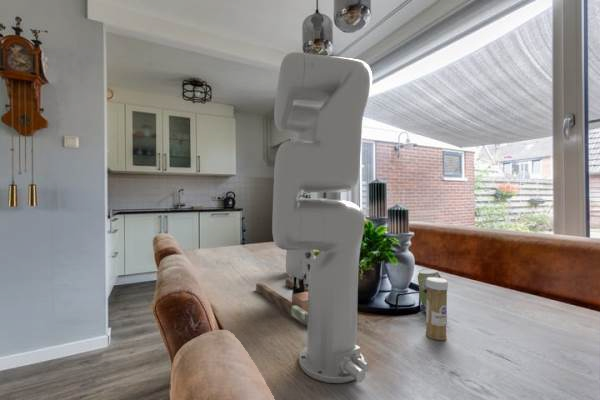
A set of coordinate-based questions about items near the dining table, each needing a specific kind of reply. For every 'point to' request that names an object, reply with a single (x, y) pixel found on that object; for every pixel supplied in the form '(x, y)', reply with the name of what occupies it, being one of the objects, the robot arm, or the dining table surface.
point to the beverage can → (422, 284)
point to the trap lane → (285, 301)
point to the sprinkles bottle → (436, 308)
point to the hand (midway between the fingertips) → (298, 299)
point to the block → (301, 300)
